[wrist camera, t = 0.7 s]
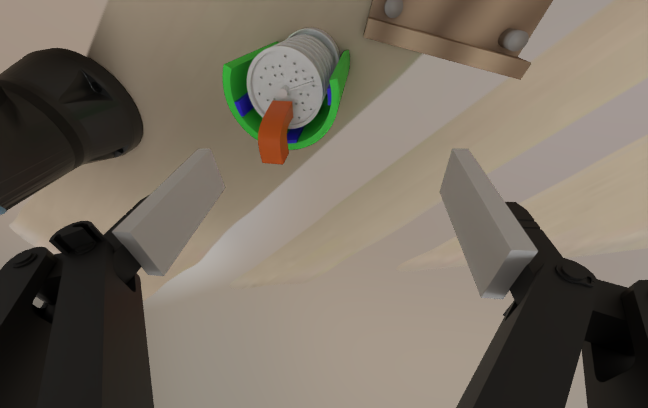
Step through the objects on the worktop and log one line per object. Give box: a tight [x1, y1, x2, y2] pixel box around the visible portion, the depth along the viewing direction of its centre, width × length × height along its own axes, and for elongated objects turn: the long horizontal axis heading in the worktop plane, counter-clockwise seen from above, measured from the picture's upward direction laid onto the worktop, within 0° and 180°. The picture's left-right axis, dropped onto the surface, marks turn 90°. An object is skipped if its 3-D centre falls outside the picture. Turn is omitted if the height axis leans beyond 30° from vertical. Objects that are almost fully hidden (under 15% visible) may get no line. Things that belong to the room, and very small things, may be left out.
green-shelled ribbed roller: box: [223, 27, 350, 164], centre depth 24 cm, size 9×8×18 cm
